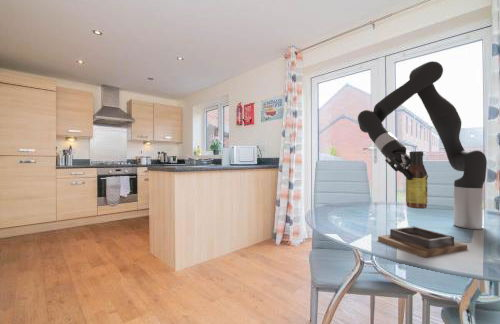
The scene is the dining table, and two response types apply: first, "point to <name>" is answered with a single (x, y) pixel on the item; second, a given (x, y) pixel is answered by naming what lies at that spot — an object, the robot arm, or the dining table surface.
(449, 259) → the dining table surface
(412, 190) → the sauce bottle
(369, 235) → the dining table surface
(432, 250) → the walnut dock board
